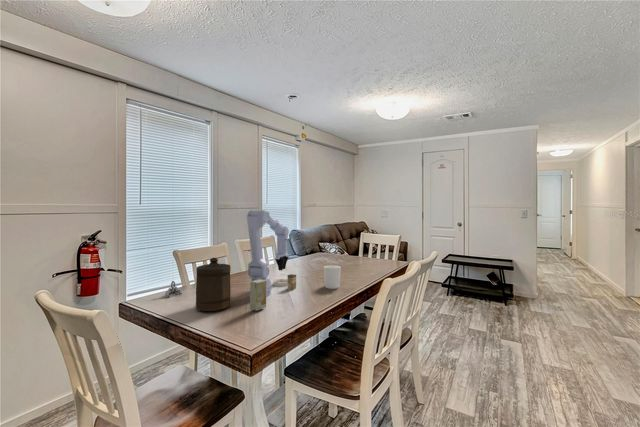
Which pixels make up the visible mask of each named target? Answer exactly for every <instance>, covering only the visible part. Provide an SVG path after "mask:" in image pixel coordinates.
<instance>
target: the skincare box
mask: <svg viewBox="0 0 640 427" xmlns="http://www.w3.org/2000/svg"><path fill="white" fill-rule="evenodd" d="M249 287H250V289H249V290H250V291H249V292H250V294H249V295H250V297H249V309H250V310H252V311H259V310H262V309H265V308H267V297H266V280H261V279H260V280H255V281H250V285H249Z"/></svg>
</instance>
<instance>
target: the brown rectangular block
mask: <svg viewBox="0 0 640 427" xmlns="http://www.w3.org/2000/svg"><path fill="white" fill-rule="evenodd" d="M287 279H288V285H287V290H289V291H294V290H295V289H297V274H293V273H292V274H291V273H290V274H288V275H287Z"/></svg>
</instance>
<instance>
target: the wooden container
mask: <svg viewBox="0 0 640 427" xmlns="http://www.w3.org/2000/svg"><path fill="white" fill-rule="evenodd" d="M218 261H219V259H218V258H216V257H211V258H210V259H209V262H210V263H209V264H202V265H199V266H196V285H195V308H196V309H197V310H198V311H203V312H215V311H221V310H224V309H226V308H228V307H230V306H231V265H230V264H227V263H219V262H218Z"/></svg>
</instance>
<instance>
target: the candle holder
mask: <svg viewBox="0 0 640 427" xmlns="http://www.w3.org/2000/svg"><path fill="white" fill-rule="evenodd" d="M341 269H342V266H341V265H335V264H331V265H330V264H328V265H324V266H323V277H324V278H323V279H324V288H326V289H331V290H333V289H334V290H336V289H339V288H340V286H341V271H342V270H341Z"/></svg>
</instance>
